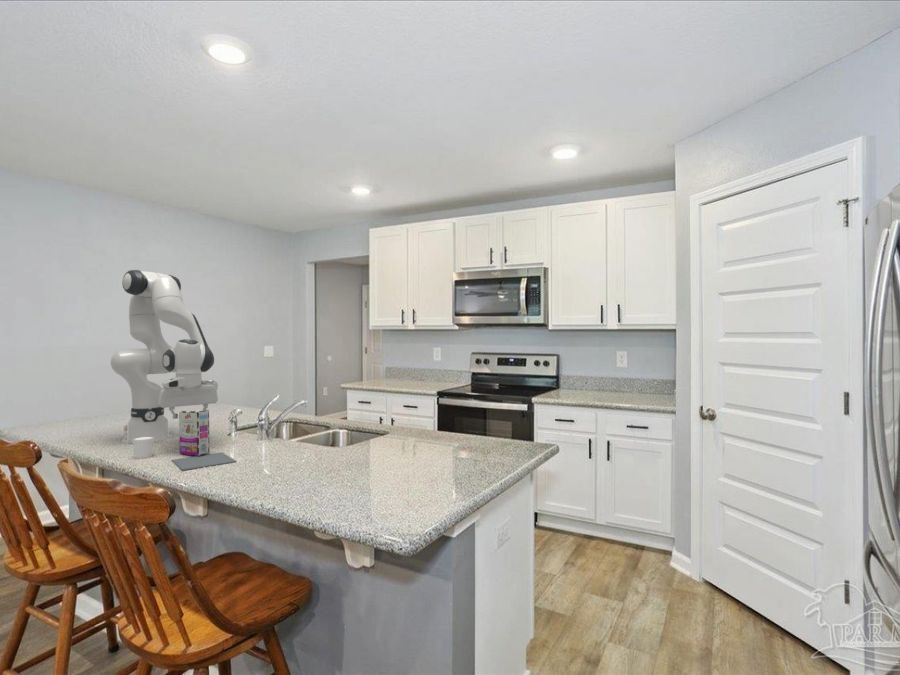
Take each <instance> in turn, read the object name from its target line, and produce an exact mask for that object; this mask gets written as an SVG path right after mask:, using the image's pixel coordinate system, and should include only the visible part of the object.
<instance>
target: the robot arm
mask: <svg viewBox="0 0 900 675" xmlns="http://www.w3.org/2000/svg"><path fill="white" fill-rule="evenodd" d="M121 283H122V288H123V290H124V291H125V292H126V293H127V294H130V295H132V296H131V297H130V301H129V306H128V307H129V308H128V309H129V310H128V317H129V318H128V320H129V333H130V335H131V337H132V338H133V339H134V340H135V341H138V342H140V343H143V344H144V345H145V346H146V347H147V348H127V349H121V350H116V351H115V352H114V353H113V355H112V357H111V360H110V366H111V369H112V370H113V371H114V372H115V373H116V374H117V375H119V376H121V377H122V378H123V379H124V380H125V381H126V383H127V384H128V386H129V388H130V392H131V403H132V404H131V406H132V407H131V410H130V417H131V418H130V419H129V421H128V422H127V423H126V425H124V426H123V427H124V428H123V429H124V430H123V431H124V432H125V435H124V436H123V437H122V439H121V441H120V444H133V439H135V438H139V437H154V443H158V442H163V441H165V439H166V440H168V439H171V437H172V438H173V437H174V435H173V434H170V432H169V429H170V428H169V419H168V418H167V417H166V416H165V415H164V414H165V408H169V411H170V413H171V414H172V419H173V420H174V419H179V414H178V413H177V412H175V408H176V407H186V406H187V407H188V406H189V407H190V406H200V405H201V406H202V407H203V408H202V410H208V408H209V405H211V404H213V405H214V404H216V403H217V402H218V400H219V398H218V391H217V390H218V387H219V386H218V382H217V381H215V380H213V379H209V380H202V373H206V372H207V371H209V370H210V369H211V368H212V367H214V366H213V365H214V364H215V356H214V353H213V352H212V350H211V348H210V347H209V345H208V342H207V340H206V337H205V335H204V332H203V331H202V328H201V326H200V324H199V321H198V318H197V317H196V316H195V314H194V313H192V312H191V311H189V309H188V308H187V307H186V305H185V303H184V300H183V295H182V293H181V290H182V283H181V281H180V279H179V278H178V277H176V276H174V275H171V274H165V273H161V272H157V271H148V270H147V271H146V270H139V269H132V270H131V269H130V270H128V271H127V272H125V273H124V275H123V278H122V282H121ZM160 321H161V322H162V323H165V324H168V325H171V326H174V327H178V328H180V329H181V330H183V331H185V332H186V333H187V334H188V336H189V339H187V338H186V339H179V340H178V341H176V345H175V346H174V347H172V346H170V345H169V344H168V342H167V340H165V338H164V336H163V333H162V330H161V328H162V327H161V322H160ZM168 373H175V377H172V378H170V379H167V380H164V381H162V383H161V385H160V384H158V383H155V382H153V381H149V380H148V378H147V375H157V374H158V375H159V374H161V375H163V374H168ZM167 438H168V439H167Z"/></svg>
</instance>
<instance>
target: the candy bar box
mask: <svg viewBox="0 0 900 675" xmlns="http://www.w3.org/2000/svg"><path fill="white" fill-rule="evenodd" d="M178 412H179V414H178V419H179V420H178V422H179V425H178V426H179V455H180V454H181V455H183V456H189V457H194V456H202V455H208V454H210V410H209V409H206V410H203V409H187V410H180V411H178Z"/></svg>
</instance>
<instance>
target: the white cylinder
mask: <svg viewBox="0 0 900 675" xmlns="http://www.w3.org/2000/svg"><path fill="white" fill-rule="evenodd" d="M154 444H155V442H154V437H139V438H135V439H133V443H132V447H133V457H134V458H133V459H146V458H151V457H153V454H154V447H155V446H154Z"/></svg>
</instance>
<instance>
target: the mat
mask: <svg viewBox="0 0 900 675" xmlns="http://www.w3.org/2000/svg"><path fill="white" fill-rule="evenodd" d="M171 462H172V463H173V464H174V465H176V467H177V468H178V469H180V471H182V472H184V471H185V472H186V471H192V470H196V469H197V468H199V469H204V468H203V467H205V468H209V466H211V467H216V465H217V466H222V465H228V464H235V463H237V460H235V459H234V458H232V457H230V456H229V455H227V454H226V453H224V452H216V453H209V454H207V455H202V456H188V457H181V458H175V459H171ZM197 470H198V469H197Z"/></svg>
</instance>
